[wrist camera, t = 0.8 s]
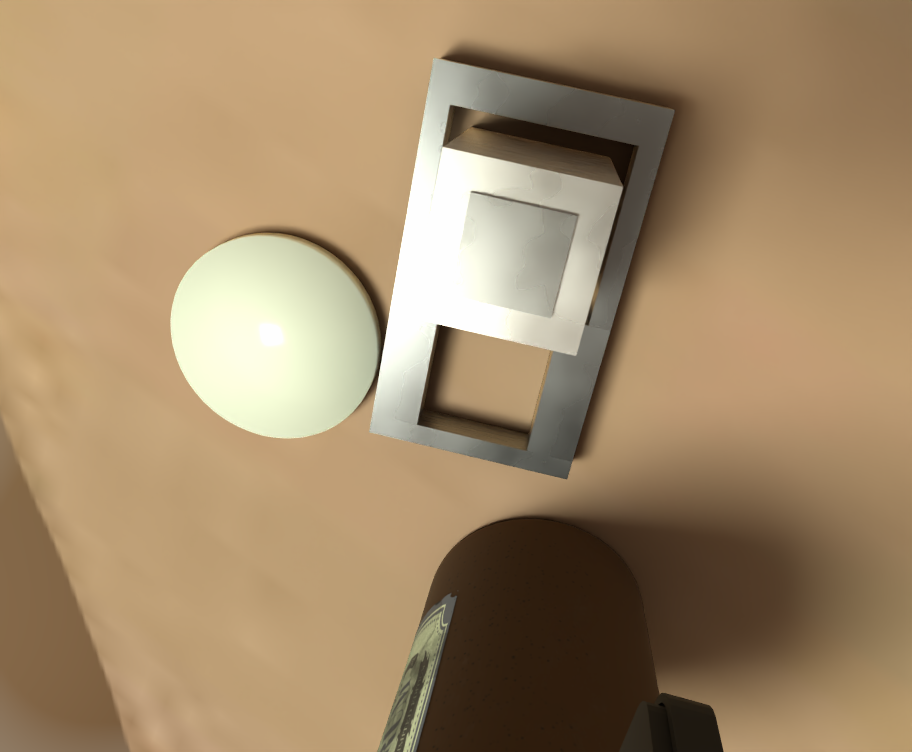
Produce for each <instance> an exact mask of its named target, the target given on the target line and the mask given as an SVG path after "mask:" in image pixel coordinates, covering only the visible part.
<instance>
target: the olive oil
mask: <svg viewBox="0 0 912 752" xmlns="http://www.w3.org/2000/svg"><path fill="white" fill-rule="evenodd" d="M658 696H659V690H658V685H657V680H656V675H655V669H654V664H653V658H652V653H651V647H650V642H649V636H648V631H647V625H646V620H645V614H644V609H643V604H642V599H641V595H640V592H639V589H638V586H637V583H636V581H635V579H634V577H633V575H632V573H631V571H630V570H629V568H628V567H627V565H626V564H625V563H624V561H623V560H622V559H621V558H620V557H619V556H618V555H617V554H616V552H614V551H613V550H612V549H611V548H610V547H609V546H608V545H606V544H605V543H604V542H602V541H601V540H599V539H598V538H596V537H595V536H593V535H591V534H589V533H587V532H585V531H583V530H581V529H579V528H576V527H573V526H570V525H567V524H564V523H560V522H555V521H550V520H542V519H517V520H509V521H504V522H500V523H496V524H493V525H490V526H487V527H484V528H482V529H480V530H478V531H476V532H474V533H472V534H470V535H469V536H467V537H466V538H464V539H463V540H462V541H460V542H459V543H458V544H457V545H456V546H455V547H454V548H453V549H452V550H451V551H450V552H449V553H448V554H447V555H446V557H445V558H444V560H443V561H442V563H441V564H440V566H439V568H438V570H437V572H436V574H435V576H434V579H433V582H432V585H431V588H430V591H429V594H428V598H427V601H426V604H425V608H424V611H423V614H422V618H421V621H420V624H419V627H418V630H417V632H416V635H415V639H414V642H413V645H412V648H411V652H410V655H409V658H408V661H407V664H406V667H405V670H404V673H403V676H402V679H401V682H400V685H399V688H398V691H397V694H396V697H395V700H394V703H393V706H392V709H391V712H390V715H389V718H388V721H387V724H386V727H385V730H384V733H383V736H382V739H381V742H380V745H379V748H378V751H377V752H619V750H620V748H621V746H622V743H623V741H624V739H625V736H626V734H627V731H628V729H629V727H630V724H631V722H632V720H633V717H634V715H635V712H636V710H637V708H638V706H639V704H640V703H641V702H642V701H646V702H649V703H653V704H654V703H655V701H656V699H657V697H658Z"/></svg>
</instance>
